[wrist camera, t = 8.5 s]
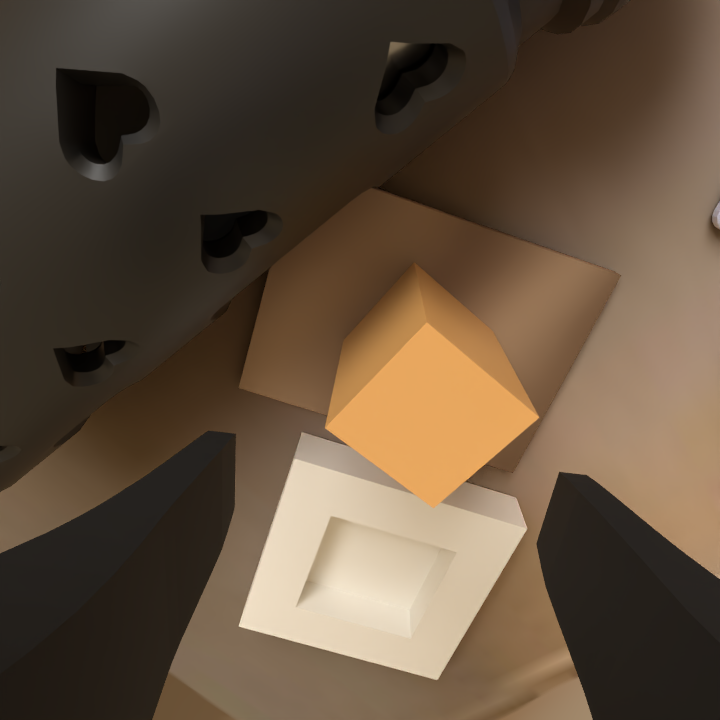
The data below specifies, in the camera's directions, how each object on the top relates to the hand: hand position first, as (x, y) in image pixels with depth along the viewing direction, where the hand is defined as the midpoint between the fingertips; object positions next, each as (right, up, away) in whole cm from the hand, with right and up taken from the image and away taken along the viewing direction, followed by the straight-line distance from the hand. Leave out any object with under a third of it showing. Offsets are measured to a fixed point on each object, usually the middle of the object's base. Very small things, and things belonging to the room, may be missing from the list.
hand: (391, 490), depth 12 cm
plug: (+1, +4, +8) cm, 9 cm away
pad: (+2, +4, +9) cm, 10 cm away
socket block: (0, -6, +13) cm, 15 cm away
